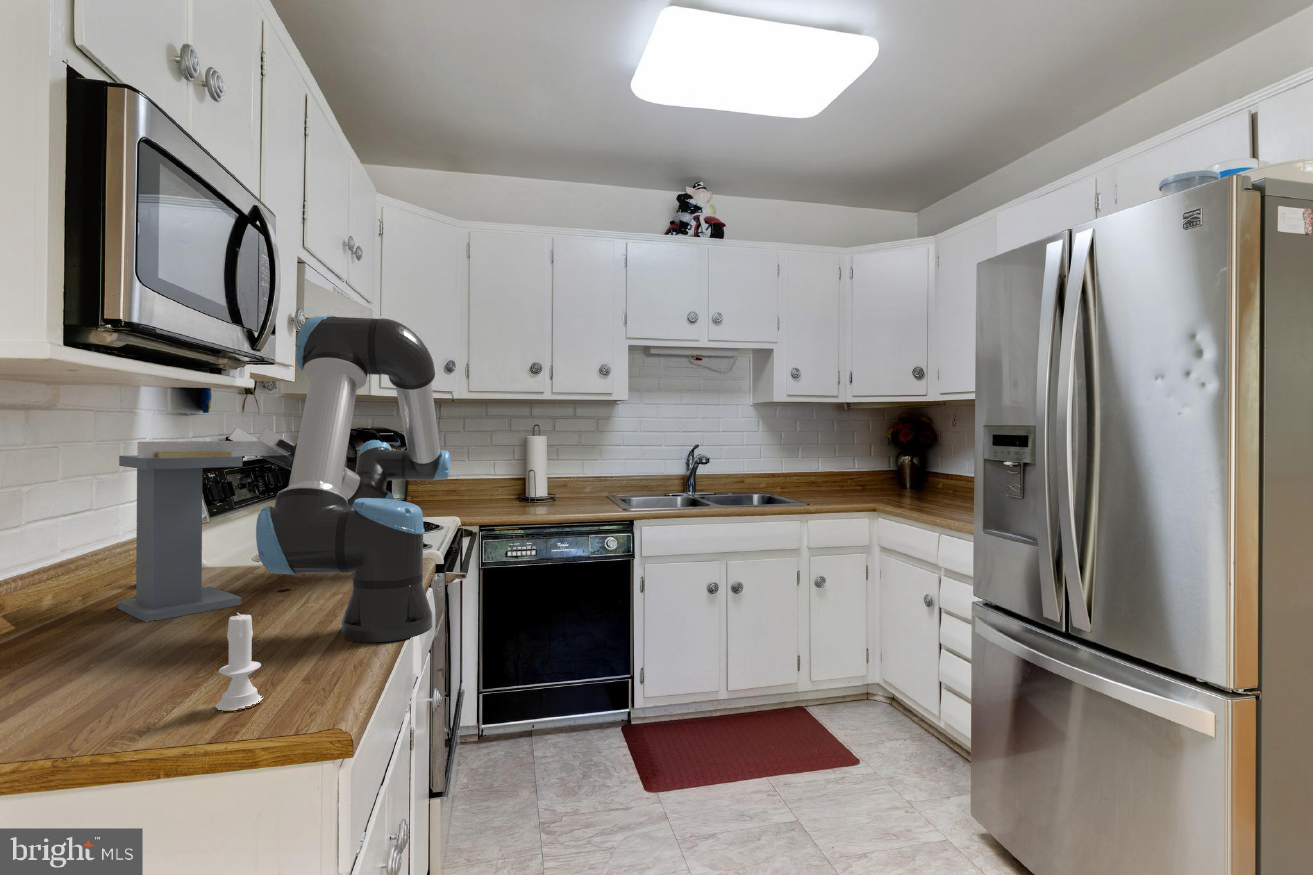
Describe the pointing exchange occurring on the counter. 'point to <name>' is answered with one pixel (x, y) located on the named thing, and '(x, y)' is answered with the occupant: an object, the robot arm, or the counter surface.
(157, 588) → the stand
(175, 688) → the counter surface
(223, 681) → the counter surface
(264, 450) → the rod
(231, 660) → the candle
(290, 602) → the counter surface
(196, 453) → the bracket
